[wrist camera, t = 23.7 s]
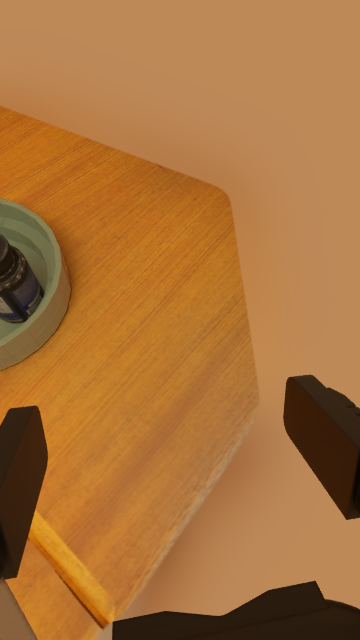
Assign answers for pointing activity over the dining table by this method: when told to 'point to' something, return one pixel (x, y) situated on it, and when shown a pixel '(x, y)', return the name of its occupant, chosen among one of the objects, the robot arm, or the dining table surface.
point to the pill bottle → (17, 285)
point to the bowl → (50, 270)
